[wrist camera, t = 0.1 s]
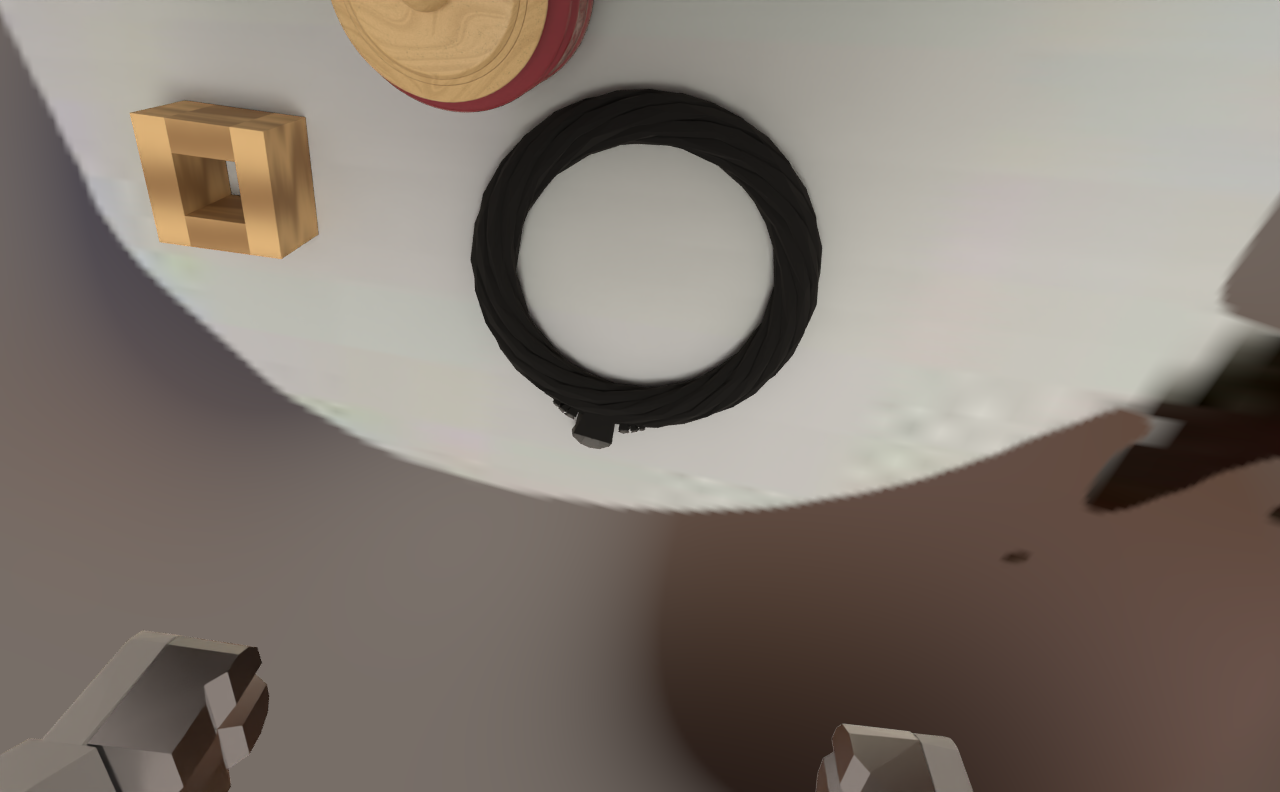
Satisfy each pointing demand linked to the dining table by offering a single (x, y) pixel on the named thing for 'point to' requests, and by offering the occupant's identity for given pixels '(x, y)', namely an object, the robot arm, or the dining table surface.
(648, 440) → the dining table surface
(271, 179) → the wooden square frame
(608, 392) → the cable lock
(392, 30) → the canister
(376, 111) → the dining table surface
